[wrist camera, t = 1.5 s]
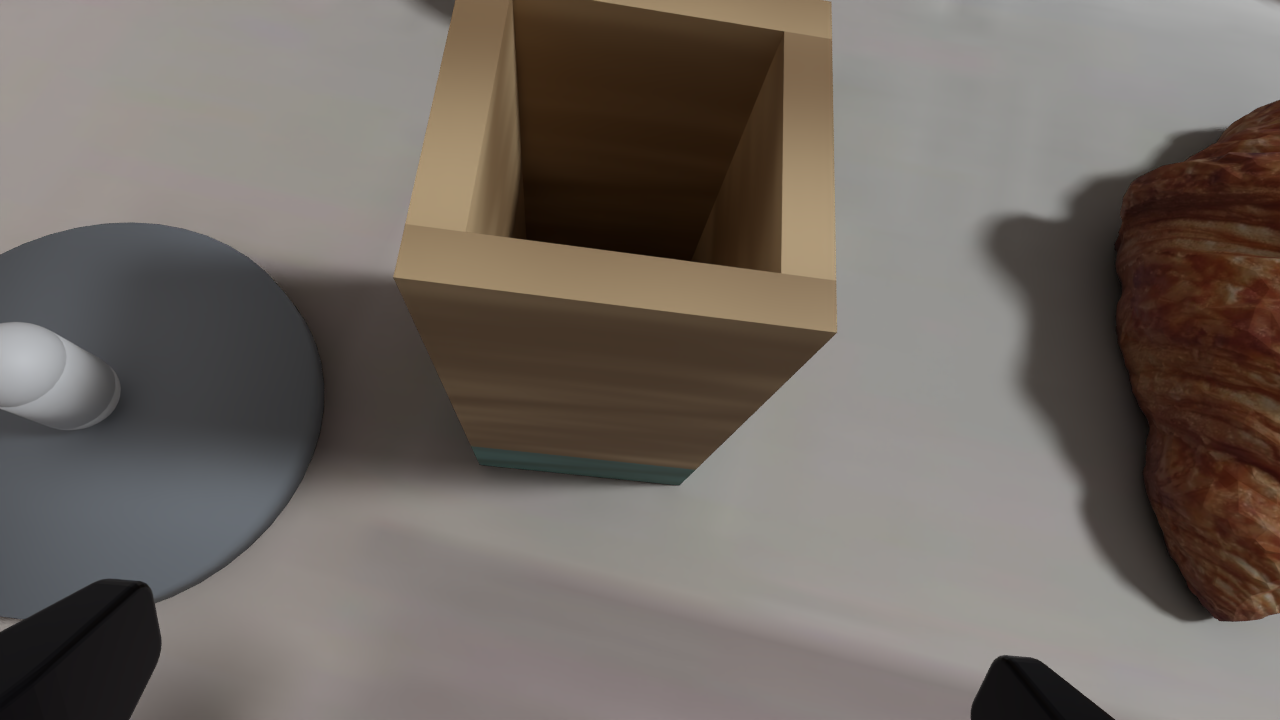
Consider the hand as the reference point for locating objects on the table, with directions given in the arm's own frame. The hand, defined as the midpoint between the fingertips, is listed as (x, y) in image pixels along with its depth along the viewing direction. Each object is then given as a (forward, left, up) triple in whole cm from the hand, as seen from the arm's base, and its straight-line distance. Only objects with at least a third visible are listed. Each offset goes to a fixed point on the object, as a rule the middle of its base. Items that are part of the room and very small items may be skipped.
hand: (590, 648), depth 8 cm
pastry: (+24, -12, -13) cm, 30 cm away
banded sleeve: (+6, +4, -13) cm, 15 cm away
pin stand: (-4, +13, -13) cm, 19 cm away
